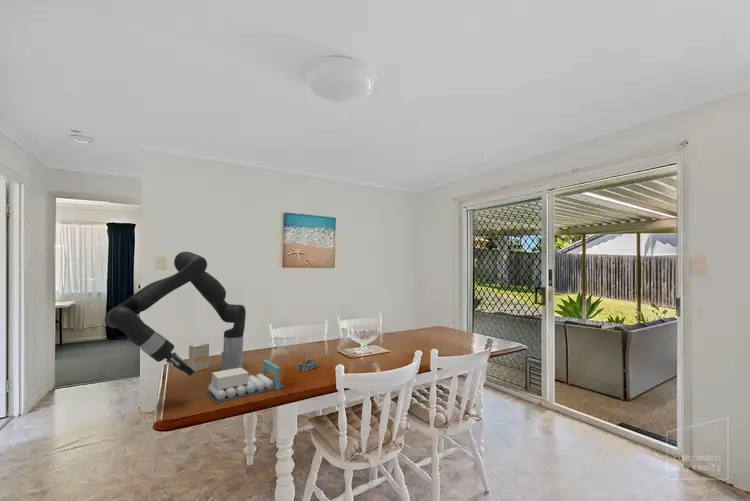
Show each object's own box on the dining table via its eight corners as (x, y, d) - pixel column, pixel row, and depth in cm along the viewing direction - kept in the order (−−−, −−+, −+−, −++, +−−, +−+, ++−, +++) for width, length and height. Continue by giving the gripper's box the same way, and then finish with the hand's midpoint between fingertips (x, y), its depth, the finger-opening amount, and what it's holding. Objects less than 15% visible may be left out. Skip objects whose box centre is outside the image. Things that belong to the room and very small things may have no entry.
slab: (217, 389, 137) (218, 378, 137) (211, 383, 144) (211, 372, 144) (248, 383, 144) (248, 372, 144) (240, 377, 151) (241, 367, 151)
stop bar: (275, 390, 149) (276, 368, 149) (262, 380, 161) (262, 360, 161) (279, 389, 150) (279, 367, 150) (265, 379, 162) (266, 359, 162)
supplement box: (203, 367, 179) (204, 341, 180) (208, 369, 176) (209, 343, 177) (187, 371, 172) (188, 344, 173) (192, 373, 170) (193, 346, 170)
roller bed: (214, 403, 134) (215, 392, 134) (205, 392, 144) (206, 382, 145) (284, 387, 152) (285, 378, 152) (272, 379, 163) (272, 370, 163)
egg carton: (310, 365, 187) (310, 357, 188) (319, 367, 183) (320, 359, 183) (294, 369, 179) (294, 361, 179) (304, 372, 174) (304, 364, 175)
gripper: (167, 341, 125) (203, 369, 132) (162, 335, 135) (195, 361, 142) (149, 358, 121) (187, 386, 128) (145, 350, 131) (180, 377, 139)
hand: (191, 373), depth 135 cm, fingers closed
